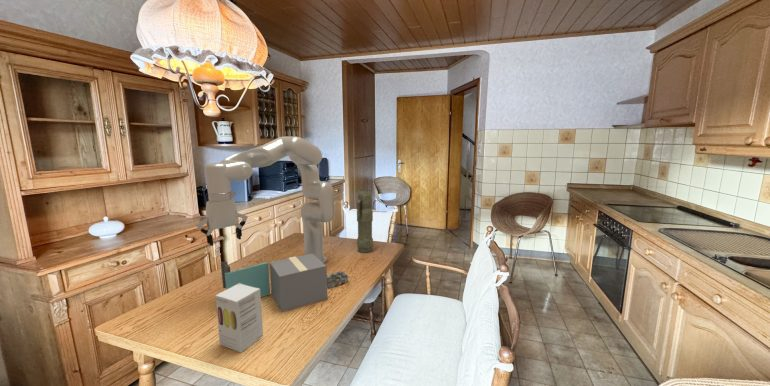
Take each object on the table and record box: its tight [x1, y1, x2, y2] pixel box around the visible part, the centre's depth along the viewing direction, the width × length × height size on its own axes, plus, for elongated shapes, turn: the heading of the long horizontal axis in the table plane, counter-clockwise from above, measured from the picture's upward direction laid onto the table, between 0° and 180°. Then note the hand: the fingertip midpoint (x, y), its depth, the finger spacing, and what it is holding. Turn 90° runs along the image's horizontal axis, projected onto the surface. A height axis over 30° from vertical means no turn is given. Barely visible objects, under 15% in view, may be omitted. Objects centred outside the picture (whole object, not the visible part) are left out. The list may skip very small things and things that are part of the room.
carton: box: [269, 253, 328, 313], centre depth 127 cm, size 16×18×14 cm
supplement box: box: [215, 283, 264, 353], centre depth 99 cm, size 10×9×17 cm
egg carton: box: [327, 269, 350, 289], centre depth 140 cm, size 11×8×4 cm
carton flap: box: [220, 261, 271, 298], centre depth 125 cm, size 16×8×16 cm, turn 132°
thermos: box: [356, 188, 374, 254], centre depth 177 cm, size 9×12×35 cm
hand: (225, 241), depth 118 cm, fingers open, 9 cm apart
